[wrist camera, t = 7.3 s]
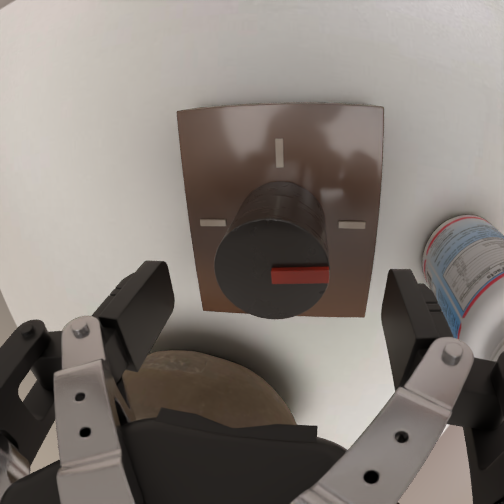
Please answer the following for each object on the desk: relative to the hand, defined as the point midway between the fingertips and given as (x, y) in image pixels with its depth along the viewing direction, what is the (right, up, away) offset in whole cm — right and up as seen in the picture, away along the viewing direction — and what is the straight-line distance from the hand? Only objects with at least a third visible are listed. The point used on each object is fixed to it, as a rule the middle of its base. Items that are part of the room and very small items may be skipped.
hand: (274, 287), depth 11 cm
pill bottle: (+13, +1, +7) cm, 15 cm away
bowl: (-5, -12, +17) cm, 21 cm away
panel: (+1, +4, +8) cm, 9 cm away
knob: (+1, +3, +5) cm, 6 cm away
